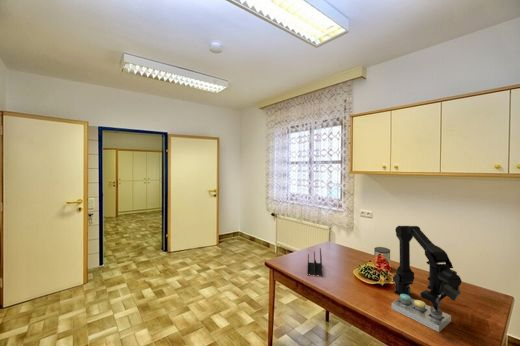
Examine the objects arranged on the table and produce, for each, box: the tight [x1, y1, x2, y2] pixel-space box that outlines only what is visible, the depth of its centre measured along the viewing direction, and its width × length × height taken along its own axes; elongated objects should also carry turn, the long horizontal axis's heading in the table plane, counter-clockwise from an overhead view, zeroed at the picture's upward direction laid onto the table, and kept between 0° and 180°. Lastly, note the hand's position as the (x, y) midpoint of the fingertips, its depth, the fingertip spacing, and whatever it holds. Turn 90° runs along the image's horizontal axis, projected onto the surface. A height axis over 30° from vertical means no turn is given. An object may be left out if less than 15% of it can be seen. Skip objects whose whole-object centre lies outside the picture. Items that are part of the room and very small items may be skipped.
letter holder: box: [306, 247, 323, 277], centre depth 171 cm, size 10×20×14 cm, turn 168°
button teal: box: [399, 294, 411, 306], centre depth 125 cm, size 5×5×4 cm
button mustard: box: [414, 299, 427, 313], centre depth 119 cm, size 5×5×4 cm
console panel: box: [391, 297, 452, 333], centre depth 119 cm, size 21×13×3 cm, turn 33°
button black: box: [430, 306, 443, 321], centre depth 113 cm, size 5×5×4 cm
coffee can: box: [374, 246, 391, 265], centre depth 171 cm, size 10×10×14 cm
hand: (436, 309), depth 113 cm, fingers closed
